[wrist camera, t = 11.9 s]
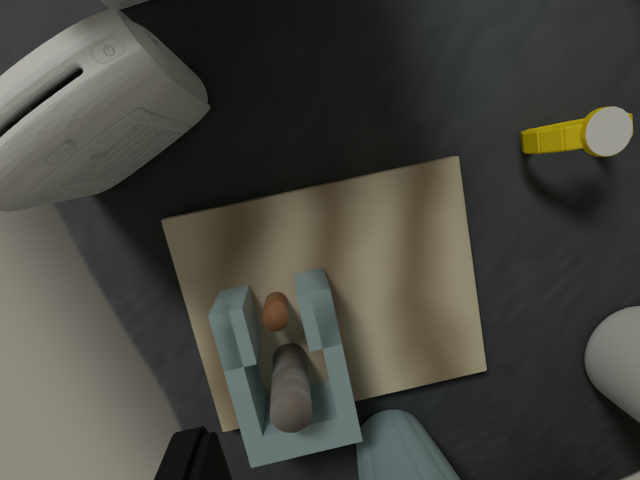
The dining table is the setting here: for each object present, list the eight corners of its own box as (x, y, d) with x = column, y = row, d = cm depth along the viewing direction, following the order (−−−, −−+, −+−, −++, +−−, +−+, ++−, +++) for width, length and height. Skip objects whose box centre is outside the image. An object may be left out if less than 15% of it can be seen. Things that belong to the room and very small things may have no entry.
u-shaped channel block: (351, 400, 31) (362, 441, 27) (256, 422, 31) (251, 467, 26) (323, 267, 29) (330, 288, 24) (219, 290, 29) (207, 315, 24)
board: (451, 156, 29) (509, 157, 22) (479, 362, 33) (537, 425, 25) (166, 217, 28) (123, 241, 21) (225, 421, 32) (206, 504, 24)
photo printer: (180, 49, 26) (91, -37, 14) (223, 107, 27) (174, 72, 15) (54, 148, 27) (-132, 145, 15) (101, 201, 28) (-40, 239, 16)
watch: (508, 163, 30) (555, 167, 24) (505, 123, 29) (551, 118, 24) (593, 146, 30) (661, 146, 24) (591, 106, 29) (660, 96, 23)
